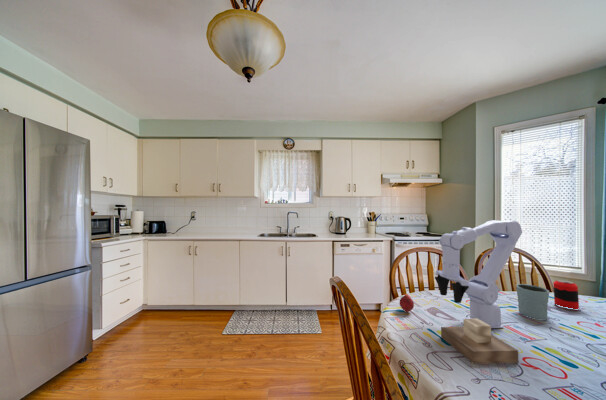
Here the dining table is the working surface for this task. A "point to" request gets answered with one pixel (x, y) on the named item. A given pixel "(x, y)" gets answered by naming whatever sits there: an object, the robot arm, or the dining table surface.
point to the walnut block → (479, 347)
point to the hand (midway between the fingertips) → (450, 298)
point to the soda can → (566, 294)
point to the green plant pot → (532, 301)
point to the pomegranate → (406, 303)
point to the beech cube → (477, 330)
